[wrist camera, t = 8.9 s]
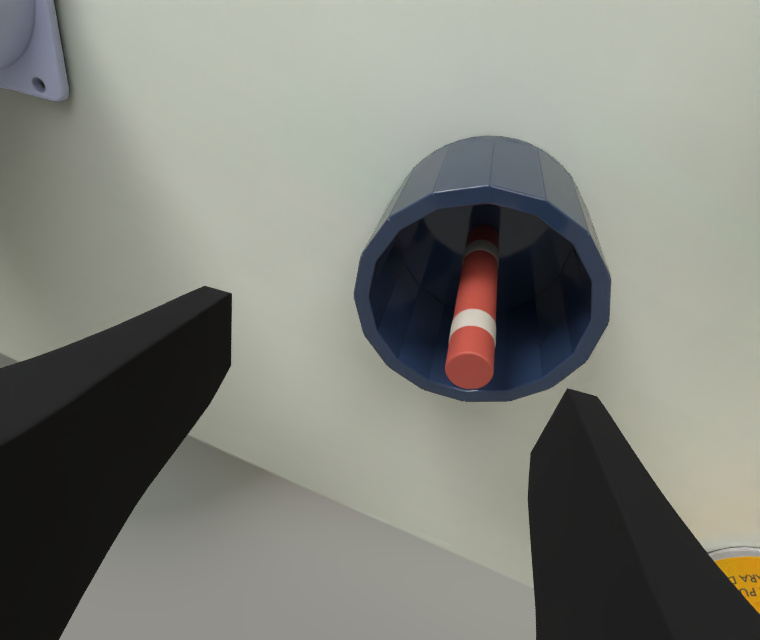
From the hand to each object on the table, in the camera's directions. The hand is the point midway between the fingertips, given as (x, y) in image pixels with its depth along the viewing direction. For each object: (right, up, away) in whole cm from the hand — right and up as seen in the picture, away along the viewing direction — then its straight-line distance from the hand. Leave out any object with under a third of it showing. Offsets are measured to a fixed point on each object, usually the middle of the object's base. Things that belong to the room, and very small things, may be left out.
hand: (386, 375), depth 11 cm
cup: (+4, +5, +9) cm, 11 cm away
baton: (+4, +4, +8) cm, 10 cm away
